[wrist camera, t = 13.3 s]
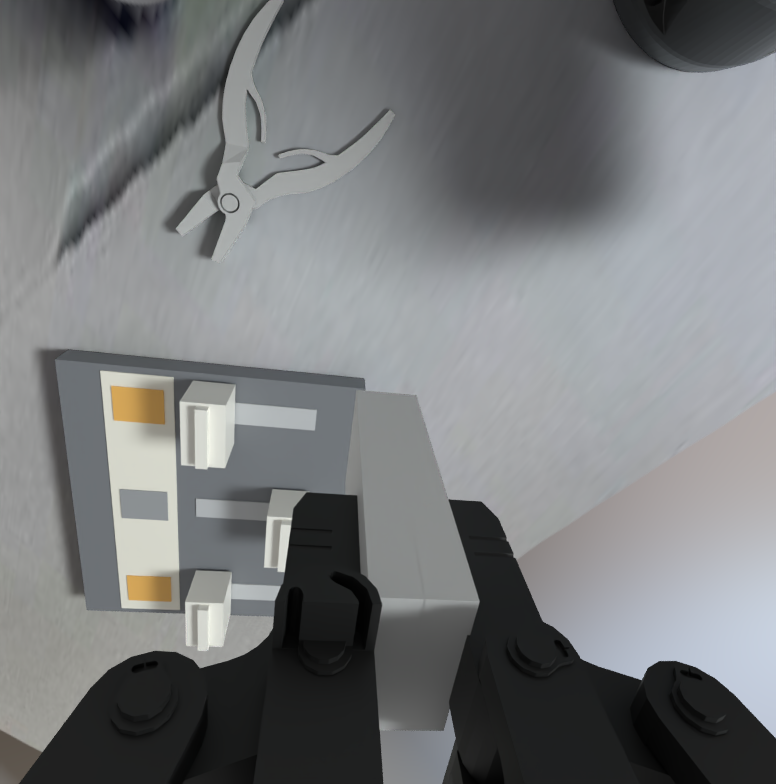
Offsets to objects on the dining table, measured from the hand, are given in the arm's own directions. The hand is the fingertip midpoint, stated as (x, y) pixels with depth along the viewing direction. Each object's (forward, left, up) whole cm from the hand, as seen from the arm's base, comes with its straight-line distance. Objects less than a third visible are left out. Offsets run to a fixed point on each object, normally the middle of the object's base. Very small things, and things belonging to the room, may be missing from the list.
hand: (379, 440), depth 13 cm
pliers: (+6, -6, -27) cm, 28 cm away
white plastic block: (+9, +30, -24) cm, 40 cm away
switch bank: (+9, +21, -26) cm, 35 cm away
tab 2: (+3, +21, -24) cm, 32 cm away
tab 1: (+9, +12, -24) cm, 28 cm away
